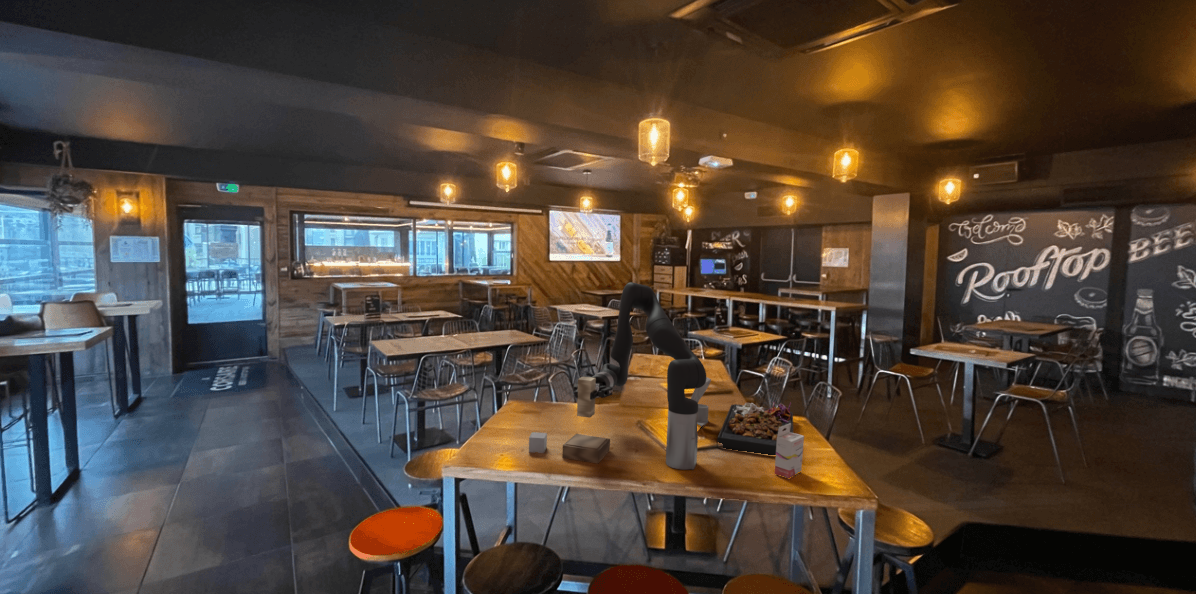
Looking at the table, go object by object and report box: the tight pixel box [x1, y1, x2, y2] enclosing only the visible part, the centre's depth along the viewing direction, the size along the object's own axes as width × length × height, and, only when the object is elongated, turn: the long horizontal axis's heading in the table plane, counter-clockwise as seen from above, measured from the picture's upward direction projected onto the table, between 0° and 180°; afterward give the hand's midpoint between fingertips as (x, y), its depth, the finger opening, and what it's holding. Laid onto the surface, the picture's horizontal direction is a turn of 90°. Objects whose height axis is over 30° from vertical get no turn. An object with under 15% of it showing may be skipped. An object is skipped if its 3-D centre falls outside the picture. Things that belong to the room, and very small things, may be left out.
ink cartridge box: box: [774, 423, 805, 479], centre depth 157 cm, size 9×5×15 cm, turn 134°
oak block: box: [576, 376, 596, 419], centre depth 167 cm, size 4×4×12 cm
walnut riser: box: [561, 433, 611, 464], centre depth 168 cm, size 12×12×4 cm
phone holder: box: [690, 376, 712, 428], centre depth 202 cm, size 17×10×18 cm, turn 153°
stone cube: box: [528, 431, 548, 454], centre depth 170 cm, size 5×5×5 cm
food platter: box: [716, 401, 794, 455], centre depth 194 cm, size 45×25×10 cm, turn 160°
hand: (583, 395), depth 165 cm, fingers closed on oak block, 4 cm apart
